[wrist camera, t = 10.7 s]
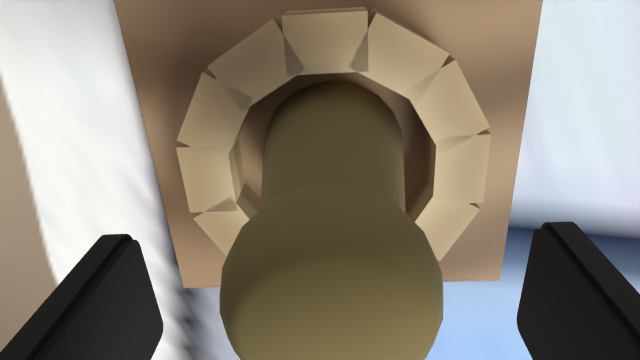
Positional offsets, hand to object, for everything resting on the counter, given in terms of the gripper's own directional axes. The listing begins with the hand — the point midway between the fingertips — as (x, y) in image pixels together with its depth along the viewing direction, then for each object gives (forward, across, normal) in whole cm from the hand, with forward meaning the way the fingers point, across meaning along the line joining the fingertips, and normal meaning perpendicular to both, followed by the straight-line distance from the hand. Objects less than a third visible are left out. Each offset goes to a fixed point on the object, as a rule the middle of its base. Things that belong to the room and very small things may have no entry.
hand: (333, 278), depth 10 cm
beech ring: (+9, 0, +1) cm, 9 cm away
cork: (+9, 0, 0) cm, 9 cm away
